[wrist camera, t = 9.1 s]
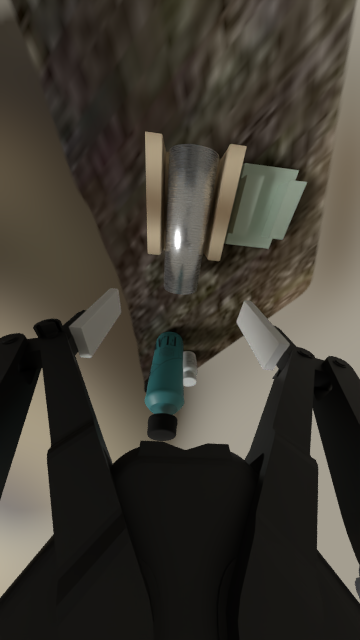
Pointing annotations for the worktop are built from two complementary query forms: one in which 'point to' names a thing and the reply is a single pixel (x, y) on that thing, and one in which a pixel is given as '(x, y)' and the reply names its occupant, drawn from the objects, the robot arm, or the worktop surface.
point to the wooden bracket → (220, 202)
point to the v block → (263, 205)
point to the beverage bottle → (165, 386)
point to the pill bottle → (189, 368)
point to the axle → (187, 214)
